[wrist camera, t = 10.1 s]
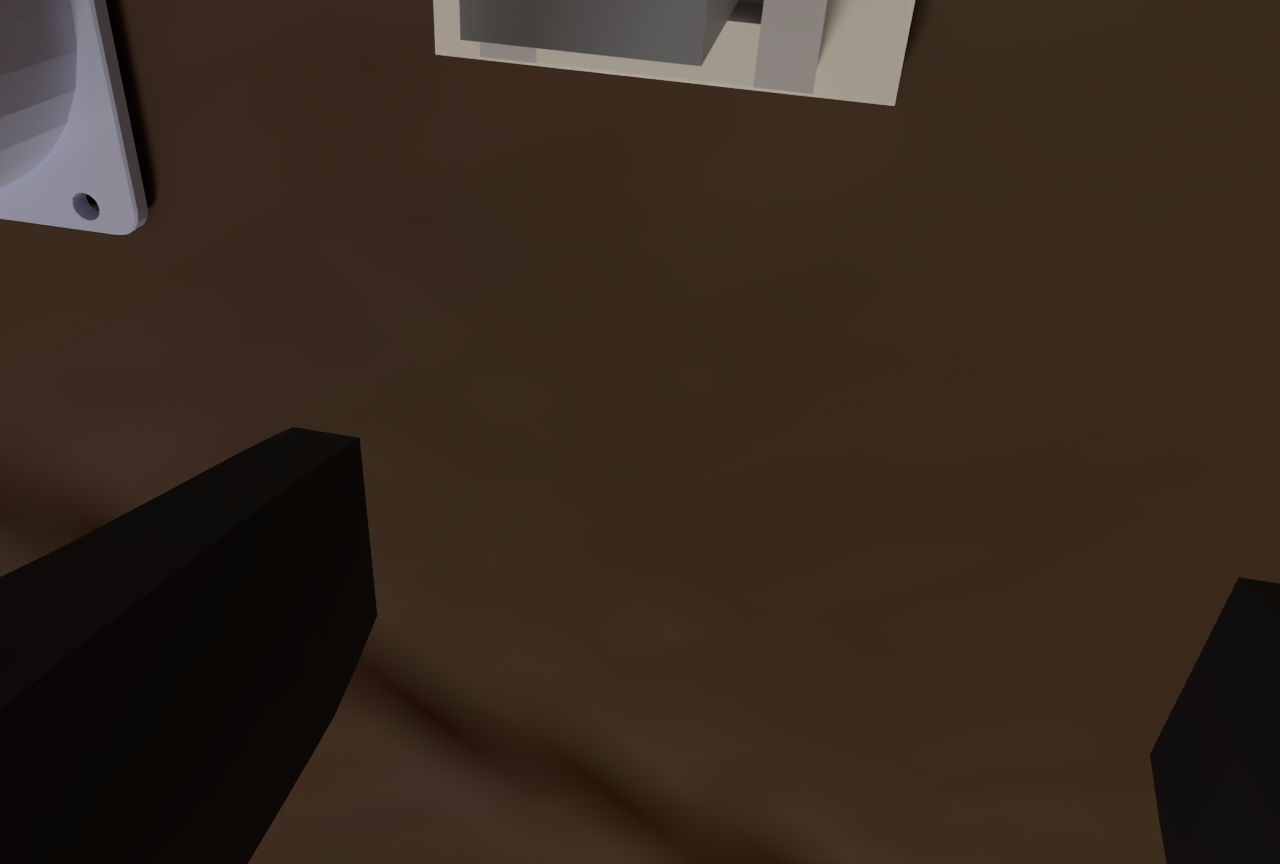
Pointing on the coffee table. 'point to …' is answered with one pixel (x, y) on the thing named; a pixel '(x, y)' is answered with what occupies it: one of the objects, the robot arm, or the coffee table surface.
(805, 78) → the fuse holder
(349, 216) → the coffee table surface
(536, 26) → the block
